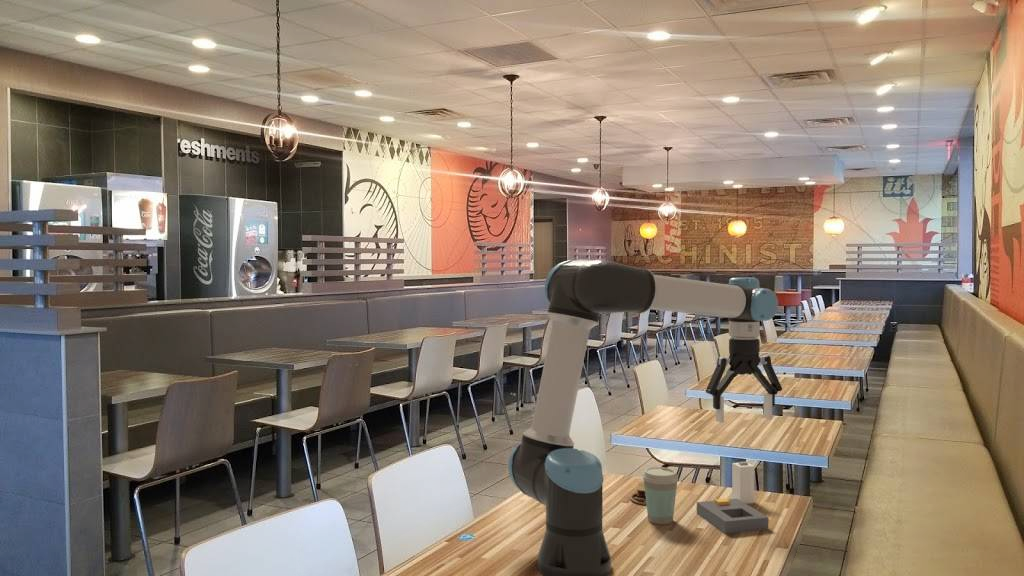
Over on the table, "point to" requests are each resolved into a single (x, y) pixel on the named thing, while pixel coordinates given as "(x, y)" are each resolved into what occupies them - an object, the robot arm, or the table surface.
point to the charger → (743, 482)
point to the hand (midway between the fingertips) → (744, 420)
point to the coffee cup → (660, 494)
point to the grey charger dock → (732, 516)
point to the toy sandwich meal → (639, 495)
